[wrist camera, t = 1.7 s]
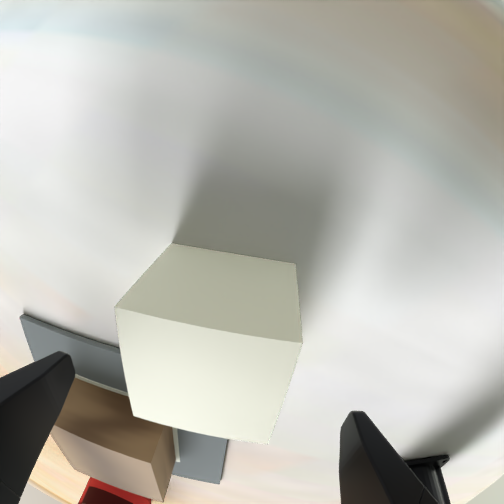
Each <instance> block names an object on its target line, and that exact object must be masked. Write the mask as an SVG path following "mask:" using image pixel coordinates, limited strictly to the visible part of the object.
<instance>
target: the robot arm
mask: <svg viewBox="0 0 504 504" xmlns="http://www.w3.org/2000/svg"><path fill="white" fill-rule="evenodd" d="M74 378H75V368H74V365H73V361H72V358H71V356H70V354H68V353H66V352H63V351H57V352H55V353H52V354H50V355H48V356H46V357H44V358H42V359H40V360H37V361H35V362H33V363H31V364H29V365H27V366H25V367H22V368H20V369H18V370H16V371H14V372H12V373H9V374H7V375H5V376H3V377H1V378H0V504H18V503H19V501H20V497H21V495H22V493H23V491H24V488H25V486H26V483H27V481H28V479H29V477H30V474H31V472H32V470H33V468H34V466H35V463H36V461H37V459H38V457H39V455H40V453H41V451H42V448H43V446H44V444H45V442H46V440H47V438H48V436H49V434H50V432H51V430H52V428H53V426H54V424H55V422H56V420H57V418H58V417H59V414H60V412H61V410H62V408H63V405H64V403H65V400H66V398H67V395H68V393H69V390H70V388H71V385H72V383H73V381H74ZM449 459H450V458H449V455H444V456H438V457H433V458H427V459H421V460H414V461H406V462H404V461H403V459H402V458H401V457H400V456H399V454H398V453H397V452H396V451H395V449H394V448H393V447H392V446H391V444H390V443H389V442H388V441H387V439H386V438H385V437H384V436H383V434H382V433H381V432H380V431H379V429H378V428H377V427H376V426H375V424H374V423H373V422H372V421H371V419H370V418H369V417H368V416H367V414H366V413H365V412H363V411H351V412H350V413H349V414H348V416H347V418H346V420H345V421H344V423H343V425H342V427H341V431H340V459H339V480H340V494H341V504H451V503H450V500H449V496H448V492H447V489H446V485H445V482H444V478H443V475H442V472H441V467H442V466H443V465H444V464H445V463H447V462H448V461H449Z"/></svg>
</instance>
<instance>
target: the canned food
mask: <svg viewBox="0 0 504 504" xmlns="http://www.w3.org/2000/svg"><path fill="white" fill-rule="evenodd" d="M78 504H151V499H150V498H146V497H143V496H140V495H137V494H134V493H131V492H128V491H125V490H123V489H120V488H117V487H114V486H112V485H109V484H107V483H104V482H102V481H99V480H97V479H95V478H92V477H90V479H89V481H88V483H87V485H86V487H85V490H84V492H83V494H82V496H81V498H80V501H79V503H78Z"/></svg>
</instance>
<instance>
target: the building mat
mask: <svg viewBox="0 0 504 504" xmlns="http://www.w3.org/2000/svg"><path fill="white" fill-rule="evenodd" d="M20 320H21V324H22V327H23V330H24V333H25V336H26V339H27V342H28V345H29V348H30V350H31V353H32V356H33V359H34V361H37V360H40V359H42V358H44V357H46V356H48V355H50V354H52V353H55V352H57V351H63V352H66V353H68V354H70V356H71V358H72V361H73V365H74V368H75V378H78V379H80V380H83V381H85V382H88V383H91V384H93V385H96V386H99V387H101V388H104V389H107V390H110V391H113V392H116V393H119V394H122V395H125V396H128V397H129V394H128V390H127V385H126V380H125V375H124V369H123V364H122V358H121V352H120V349H119V348H116V347H113V346H110V345H106V344H103V343H100V342H97V341H94V340H91V339H88V338H85V337H82V336H79V335H76V334H73V333H70V332H68V331H65V330H62V329H59V328H57V327H54V326H52V325H49V324H46V323H44V322H41V321H39V320H36V319H34V318H32V317H29V316H27V315H24V314H23V315H21V316H20ZM172 429H173V439H174V448H175V457H176V461H175V464H174V468H173V471H172V474H173V475H177V476H181V477H185V478H190V479H194V480H199V481H204V482H209V483H214V484H220V480H221V474H222V468H223V462H224V456H225V451H226V445H227V439H226V438H220V437H215V436H210V435H205V434H200V433H195V432H191V431H187V430H182V429H178V428H174V427H172Z"/></svg>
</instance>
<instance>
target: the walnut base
mask: <svg viewBox="0 0 504 504" xmlns="http://www.w3.org/2000/svg"><path fill="white" fill-rule="evenodd" d="M50 434H51V436H52V437H53V439H54V441H55V442H56V444H57V445H58V447H59V448H60V450H61V451H62V453H63V454H64V456H65V457H66V458H67V460H68V461H69V463H70V464H71V465H72V467H73V468H74V469H75V470H77V471H79V472H81V473H83V474H86V475H88V476H90V477H92V478H95V479H97V480H99V481H102V482H104V483H107V484H109V485H112V486H114V487H117V488H120V489H123V490H125V491H128V492H131V493H134V494H137V495H140V496H143V497H146V498H150V499H153V500H156V501H160V502H163V501H164V498H165V495H166V491H167V488H168V484H169V481H170V478H171V474H172V471H173V468H174V464H175V461H176V457H175V448H174V439H173V429H172V427H170V426H166V425H163V424H159V423H156V422H152V421H149V420H145V419H142V418H139V417H135V416H133V412H132V408H131V403H130V399H129V397H128V396H125V395H122V394H119V393H116V392H113V391H110V390H107V389H104V388H101V387H99V386H96V385H93V384H91V383H88V382H85V381H83V380H80V379H78V378H74V381H73V383H72V385H71V388H70V390H69V393H68V395H67V398H66V400H65V403H64V405H63V408H62V410H61V412H60V414H59V417H58V418H57V420H56V422H55V424H54V426H53V428H52V430H51V432H50Z"/></svg>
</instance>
